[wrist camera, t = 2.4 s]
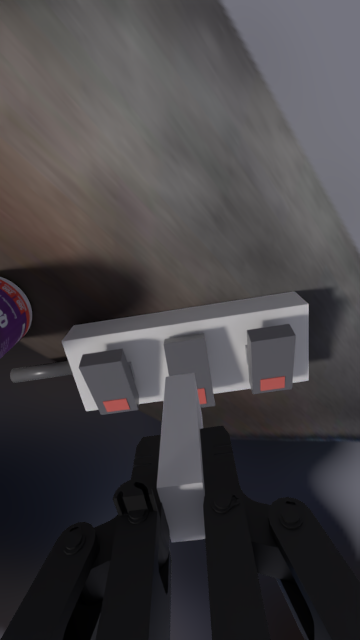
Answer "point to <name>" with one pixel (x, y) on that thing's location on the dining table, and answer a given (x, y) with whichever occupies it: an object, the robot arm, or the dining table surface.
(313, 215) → the dining table surface
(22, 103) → the dining table surface
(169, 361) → the rocker
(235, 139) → the dining table surface
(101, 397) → the rocker
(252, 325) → the power strip
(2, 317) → the pill bottle
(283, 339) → the rocker
